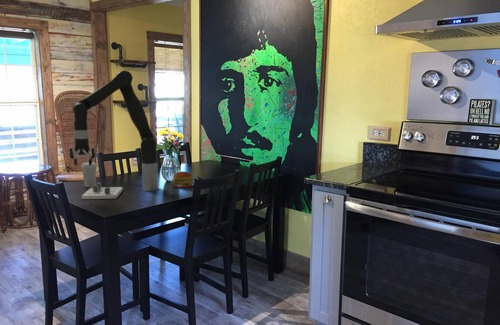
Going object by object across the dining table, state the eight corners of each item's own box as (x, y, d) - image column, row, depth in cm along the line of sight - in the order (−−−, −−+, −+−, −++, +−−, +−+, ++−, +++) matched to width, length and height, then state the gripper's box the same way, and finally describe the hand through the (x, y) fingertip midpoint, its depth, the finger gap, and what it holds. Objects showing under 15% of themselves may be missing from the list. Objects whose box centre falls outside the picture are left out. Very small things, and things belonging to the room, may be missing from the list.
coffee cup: (81, 188, 264) (80, 165, 262) (83, 184, 273) (81, 162, 271) (97, 187, 267) (96, 164, 264) (98, 184, 276) (97, 161, 273)
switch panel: (122, 190, 260) (122, 187, 260) (116, 198, 240) (115, 194, 240) (91, 190, 258) (91, 187, 257) (81, 199, 238) (81, 195, 238)
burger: (189, 189, 263) (188, 174, 261) (169, 188, 266) (168, 173, 264) (196, 185, 276) (195, 170, 274) (176, 184, 279) (176, 169, 277)
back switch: (101, 187, 256) (100, 182, 255) (100, 188, 253) (99, 183, 252) (97, 187, 255) (96, 182, 255) (95, 189, 252) (95, 183, 252)
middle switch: (98, 190, 250) (98, 184, 249) (97, 191, 247) (97, 185, 246) (94, 190, 250) (94, 184, 249) (93, 191, 247) (92, 185, 246)
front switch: (110, 192, 245) (110, 186, 244) (109, 193, 242) (108, 187, 241) (105, 192, 245) (105, 186, 244) (104, 193, 242) (104, 187, 241)
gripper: (95, 136, 246) (97, 164, 249) (70, 136, 245) (72, 164, 248) (92, 138, 239) (94, 166, 242) (66, 138, 238) (68, 166, 240)
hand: (83, 165), depth 245 cm, fingers open, 7 cm apart
